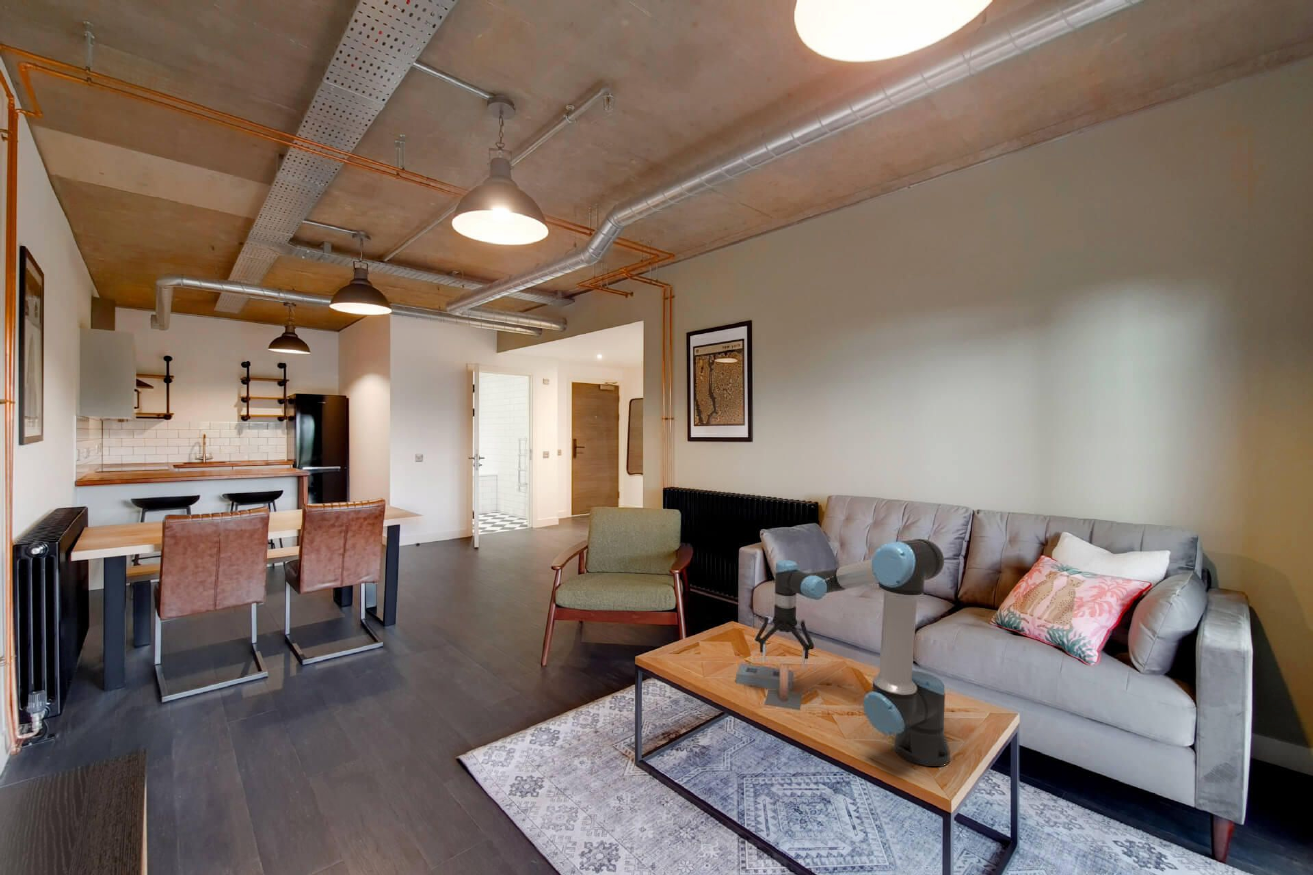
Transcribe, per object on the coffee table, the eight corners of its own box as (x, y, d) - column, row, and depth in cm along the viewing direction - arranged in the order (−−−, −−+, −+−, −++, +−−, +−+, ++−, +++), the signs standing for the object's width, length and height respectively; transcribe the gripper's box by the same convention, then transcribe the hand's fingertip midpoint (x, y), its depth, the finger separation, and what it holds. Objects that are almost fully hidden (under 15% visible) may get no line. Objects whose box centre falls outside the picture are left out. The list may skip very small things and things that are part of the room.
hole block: (791, 692, 205) (791, 681, 205) (736, 684, 211) (736, 673, 211) (793, 680, 214) (793, 670, 214) (740, 673, 220) (740, 663, 220)
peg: (787, 701, 197) (788, 667, 197) (778, 700, 198) (779, 666, 198) (788, 697, 200) (788, 664, 200) (779, 696, 201) (780, 663, 200)
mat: (800, 711, 191) (800, 709, 191) (764, 705, 195) (764, 704, 195) (802, 695, 203) (802, 694, 203) (768, 690, 206) (768, 689, 206)
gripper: (822, 606, 198) (820, 665, 199) (751, 597, 206) (749, 655, 206) (821, 612, 191) (819, 674, 192) (748, 603, 199) (746, 663, 199)
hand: (783, 664), depth 199 cm, fingers open, 13 cm apart
